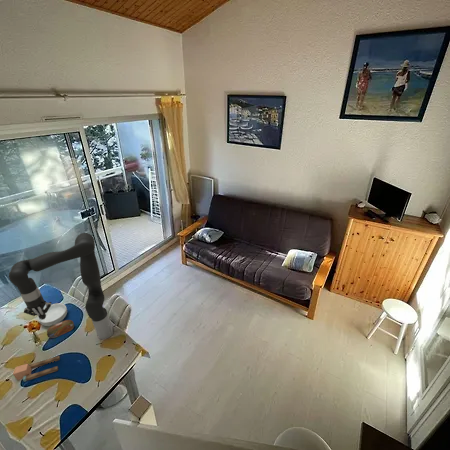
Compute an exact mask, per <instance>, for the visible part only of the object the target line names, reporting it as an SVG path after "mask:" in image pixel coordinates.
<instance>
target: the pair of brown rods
mask: <svg viewBox="0 0 450 450" xmlns="http://www.w3.org/2000/svg"><path fill="white" fill-rule="evenodd" d="M60 360H61V357H60V355H57V356H54V357H50V358H47V359H44V360H41V361H40V360H39V361H38V362H34V363H31V364H30V363H29V366H30V367H31V369H36V368H39V367H42V366H44V365H45V366H46V365H48V363H49V364H52V363H55V362H58V361H60ZM54 361H55V362H54ZM51 362H52V363H51ZM58 371H59V366H58V365H57V366H53V367H51V368H47V369H43V370H41V371H38V372H37V371H36V372H35V373H31V375H28V376H24V377H23V379H22V381H23V382H24V383H25V382H27V381H31V380H34V379H37V378H40V377H43V376H46V375H49V374H53V373H55V372H58Z"/></svg>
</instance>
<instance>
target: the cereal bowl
mask: <svg viewBox="0 0 450 450" xmlns="http://www.w3.org/2000/svg"><path fill="white" fill-rule="evenodd" d="M45 308H46V307H44V310H45ZM67 313H68V308H67V306H66V304H64V303H59V302H57V303H53V304H52V303H51V306H50V308H49V310H48V311H47V313H45V314H46V318H45V319H43V320H41V319H40V318H39V316H37V320H38V322H39V324H40V325H43V326H44V327H51V326H53V325H56V324H58V323H60V322H63V321H64V319H65V318H66V317H67Z"/></svg>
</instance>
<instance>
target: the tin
mask: <svg viewBox="0 0 450 450" xmlns="http://www.w3.org/2000/svg"><path fill="white" fill-rule="evenodd" d="M74 328H75V323H74V320H71V319H65V320H62V321H60V322H59V323H57V324H55V325H51V326H49V327H48V329H47V330H46V335H47V338H49V339H56V338H58V337H60V336H62V335H65V334H67V333H68V332H71V331H72V330H73V329H74Z"/></svg>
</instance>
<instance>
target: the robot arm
mask: <svg viewBox="0 0 450 450" xmlns="http://www.w3.org/2000/svg"><path fill="white" fill-rule="evenodd" d="M95 248H96V243H95V237H94V236H93V235H91V234H90V233H88V232H82V233H80V234H78V235H77V236H76V238H75V241H74V245H73V246H71V247H69V248H67V249H64V250H61V251H51V252H47V253H43V254H41V255H39V256H37V257H33V258H29V259H24V260H20V261H17V262H15V263H14V264H13V265H12V267H11V268H10V271H9V274H8V279H9V280H10V282H11V283H12V284H13V285H14V286H15V288H16V287H17V289H18V292H19V293H20V296H21V298H22V300H23V302H24V304H25V306H26V307H25V308H24V310H23V313H24V314H27V315H30V316H33V317H35V316H37V317H38V316H39V318H40V319H41V320H43V319H45V318H46V314H45V313H47V311H48V310H49V308H50V306H51V305H52V301H49V302H47V301H46V300H45V299H44V296H43V295H42V292H41V290H40V289H39V287H38V286H37V284H36V282H35V280H34V278H32V277H29V272H30V271H33V272H41V271H43V270H46V269H48V268H50V267H53V266H56V265H58V264H61V263H64V262H69V261H71V260H75V259H78V258H79V269H80V277H81V281H82V283H83V285H85V286H86V287H87V289H88V290H87V291H88V297H87V299H86V303H85V307H84V308H85V312H86V314H87V316H88V318H90V319H91V321H92V325H93V327H94V330H95V333H96V336H97V337H98V339H99V340H106V339H109V338H110V337H111V336H113V335H114V327H113V323H112V321H111V318H110V317H109V314H108V313H109V312H108V311H107V309H106V308H105V307H104V306H103V305H104V302H105V294H104V292H103V289H102V280H101V272H100V267H99V264H98V261H97V260H98V259H97V256H96V252H95ZM44 308H45V310H44Z"/></svg>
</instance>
